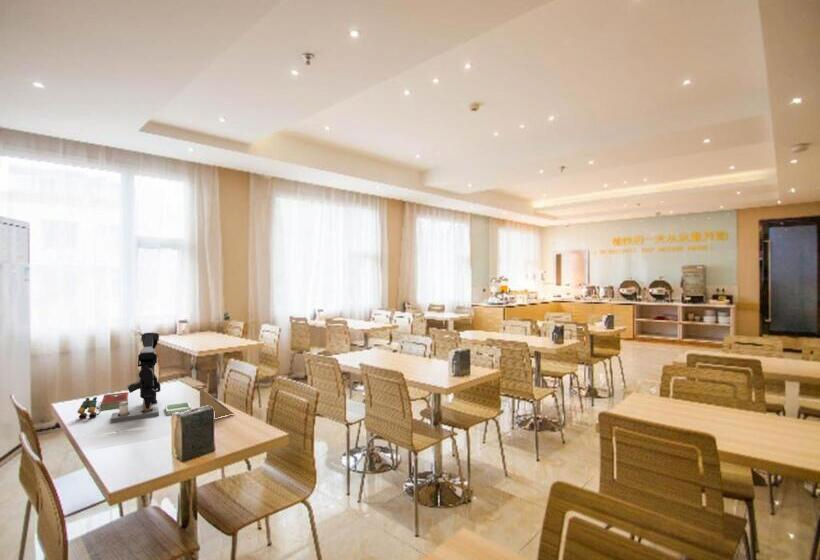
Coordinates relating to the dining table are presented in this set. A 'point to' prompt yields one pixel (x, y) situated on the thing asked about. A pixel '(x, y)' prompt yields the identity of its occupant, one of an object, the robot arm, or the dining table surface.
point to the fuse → (123, 408)
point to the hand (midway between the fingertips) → (147, 406)
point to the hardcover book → (113, 400)
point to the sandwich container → (213, 404)
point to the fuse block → (134, 415)
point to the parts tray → (177, 408)
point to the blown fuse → (145, 408)
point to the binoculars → (91, 405)
